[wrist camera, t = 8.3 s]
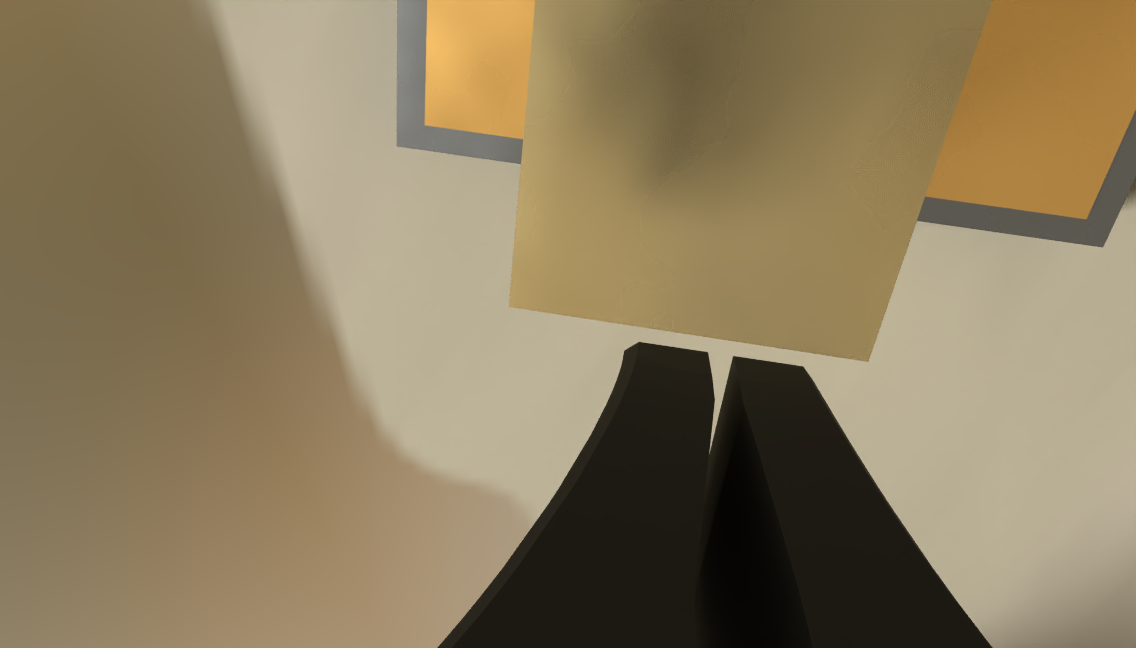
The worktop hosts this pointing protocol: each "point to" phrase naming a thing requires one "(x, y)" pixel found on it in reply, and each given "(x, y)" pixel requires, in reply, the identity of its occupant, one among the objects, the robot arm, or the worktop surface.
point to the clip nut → (733, 161)
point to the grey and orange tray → (971, 147)
